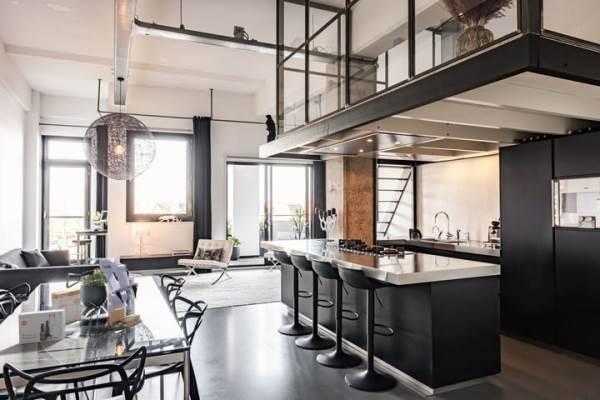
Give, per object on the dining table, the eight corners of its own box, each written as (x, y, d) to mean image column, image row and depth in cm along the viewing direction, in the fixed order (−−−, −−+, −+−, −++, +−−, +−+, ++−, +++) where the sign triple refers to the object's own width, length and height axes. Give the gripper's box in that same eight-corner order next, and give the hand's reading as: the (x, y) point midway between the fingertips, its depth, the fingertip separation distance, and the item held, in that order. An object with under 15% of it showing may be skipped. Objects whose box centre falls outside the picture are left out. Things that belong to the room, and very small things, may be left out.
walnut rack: (103, 326, 245) (103, 322, 245) (118, 321, 256) (118, 317, 256) (129, 329, 238) (129, 324, 238) (143, 323, 250) (143, 319, 250)
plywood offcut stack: (118, 326, 241) (118, 318, 242) (132, 321, 252) (132, 313, 252) (128, 327, 239) (128, 319, 239) (141, 321, 249) (141, 314, 249)
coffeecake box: (75, 318, 267) (74, 288, 267) (81, 319, 263) (80, 289, 264) (51, 324, 254) (50, 292, 254) (57, 325, 250) (57, 293, 251)
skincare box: (18, 344, 216) (17, 314, 216) (22, 341, 221) (21, 312, 222) (63, 340, 222) (62, 310, 222) (65, 337, 227) (65, 308, 228)
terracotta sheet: (109, 325, 244) (109, 311, 245) (122, 320, 254) (121, 307, 254) (112, 325, 244) (111, 311, 244) (124, 320, 253) (124, 307, 253)
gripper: (110, 282, 252) (115, 302, 245) (134, 274, 257) (140, 293, 251) (112, 287, 257) (117, 306, 251) (136, 279, 263) (142, 297, 256)
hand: (129, 300), depth 251 cm, fingers open, 7 cm apart
